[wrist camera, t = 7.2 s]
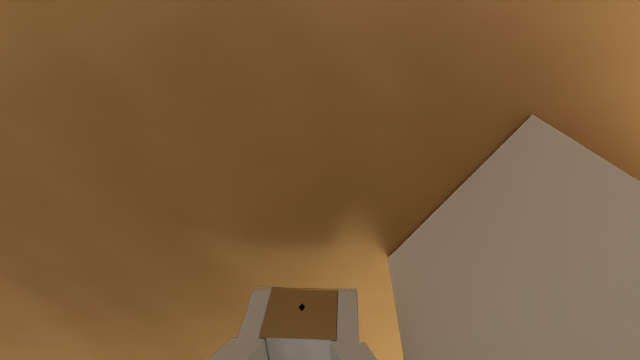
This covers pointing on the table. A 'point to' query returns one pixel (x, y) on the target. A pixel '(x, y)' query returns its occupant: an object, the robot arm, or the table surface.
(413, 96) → the table surface
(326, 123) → the table surface
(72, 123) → the table surface
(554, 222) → the white cube
